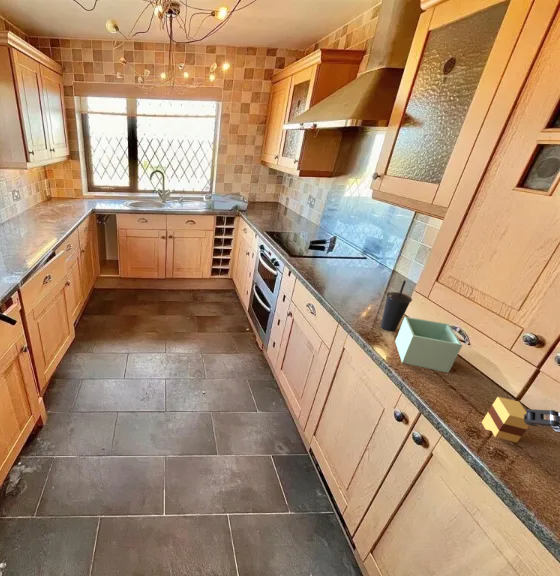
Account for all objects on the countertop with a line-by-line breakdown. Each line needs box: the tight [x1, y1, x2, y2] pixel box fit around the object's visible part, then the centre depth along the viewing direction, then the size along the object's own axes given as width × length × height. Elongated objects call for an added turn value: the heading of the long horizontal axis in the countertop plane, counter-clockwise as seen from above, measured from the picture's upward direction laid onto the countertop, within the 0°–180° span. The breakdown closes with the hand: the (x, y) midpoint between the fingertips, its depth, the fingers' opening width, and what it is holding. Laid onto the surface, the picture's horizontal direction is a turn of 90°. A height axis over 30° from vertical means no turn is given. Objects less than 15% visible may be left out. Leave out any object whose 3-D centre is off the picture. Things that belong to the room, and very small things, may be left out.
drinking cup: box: [380, 279, 413, 333], centre depth 112 cm, size 8×8×20 cm
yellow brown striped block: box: [481, 396, 530, 443], centre depth 74 cm, size 4×6×9 cm
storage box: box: [394, 316, 463, 374], centre depth 100 cm, size 12×12×11 cm
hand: (556, 426), depth 60 cm, fingers open, 8 cm apart
